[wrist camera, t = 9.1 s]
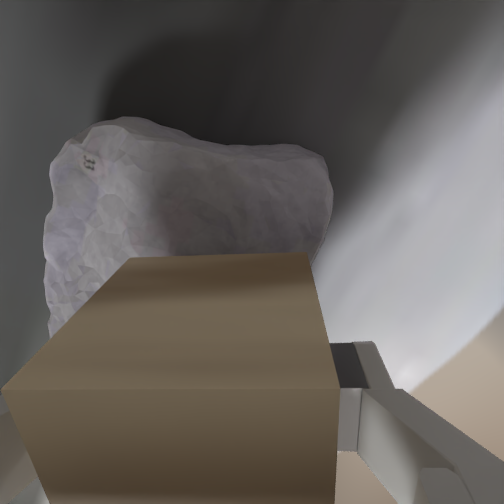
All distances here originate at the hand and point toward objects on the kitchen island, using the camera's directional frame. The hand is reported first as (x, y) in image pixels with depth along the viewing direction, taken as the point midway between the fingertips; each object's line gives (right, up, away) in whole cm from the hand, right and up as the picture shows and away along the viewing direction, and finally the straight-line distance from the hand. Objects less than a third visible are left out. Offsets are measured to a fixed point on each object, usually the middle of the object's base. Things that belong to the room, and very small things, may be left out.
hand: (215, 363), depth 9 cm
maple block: (0, +1, +1) cm, 2 cm away
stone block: (-2, +3, +6) cm, 7 cm away
